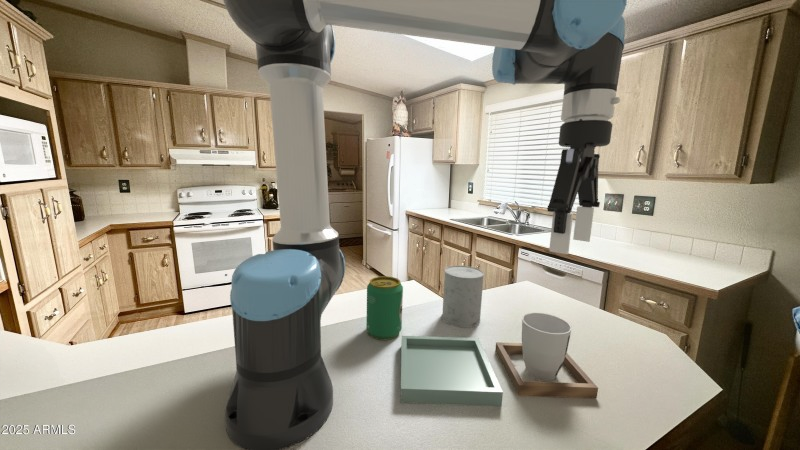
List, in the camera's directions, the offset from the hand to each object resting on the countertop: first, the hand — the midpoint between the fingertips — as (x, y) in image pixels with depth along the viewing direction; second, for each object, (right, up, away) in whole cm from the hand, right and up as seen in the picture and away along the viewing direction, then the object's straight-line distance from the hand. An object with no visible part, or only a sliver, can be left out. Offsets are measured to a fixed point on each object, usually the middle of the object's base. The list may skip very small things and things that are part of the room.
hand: (570, 246), depth 55 cm
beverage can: (-34, -21, +16) cm, 43 cm away
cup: (-4, -24, +3) cm, 24 cm away
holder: (-4, -24, +3) cm, 24 cm away
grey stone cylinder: (-15, -20, +23) cm, 34 cm away
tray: (-22, -23, +2) cm, 32 cm away
